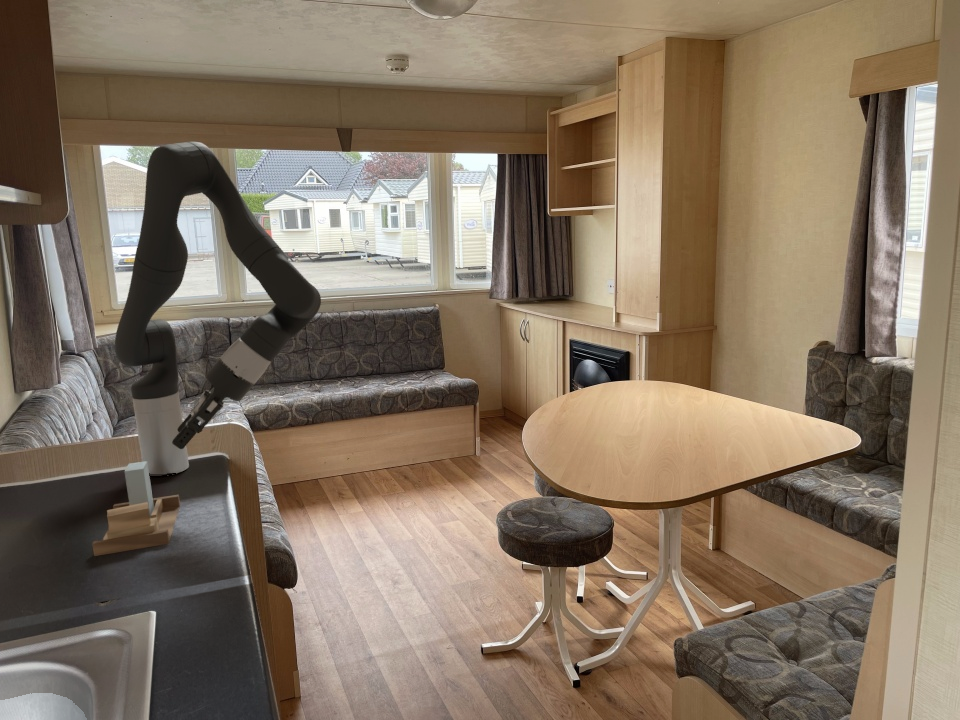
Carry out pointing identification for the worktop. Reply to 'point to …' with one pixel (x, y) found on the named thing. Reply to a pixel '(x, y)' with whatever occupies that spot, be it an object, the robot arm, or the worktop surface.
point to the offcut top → (128, 517)
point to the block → (139, 484)
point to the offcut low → (135, 530)
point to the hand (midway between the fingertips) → (179, 439)
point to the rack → (166, 519)
